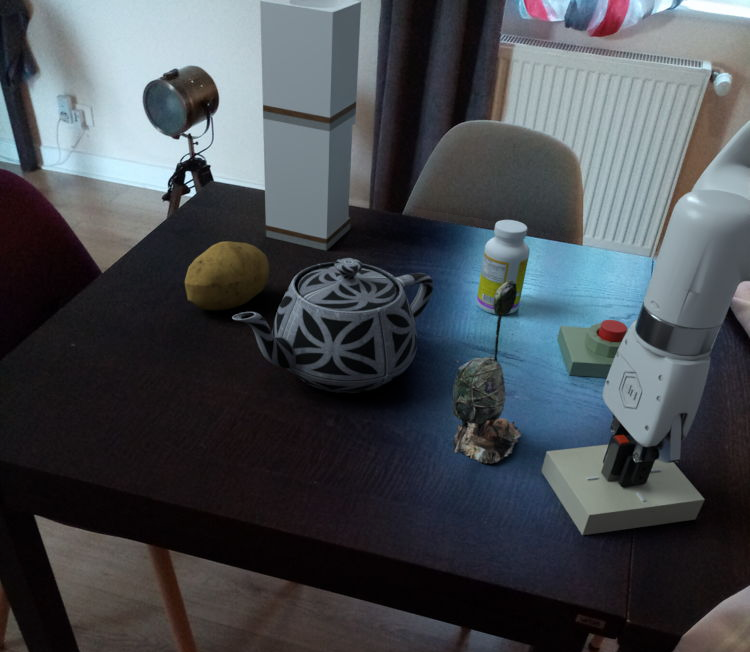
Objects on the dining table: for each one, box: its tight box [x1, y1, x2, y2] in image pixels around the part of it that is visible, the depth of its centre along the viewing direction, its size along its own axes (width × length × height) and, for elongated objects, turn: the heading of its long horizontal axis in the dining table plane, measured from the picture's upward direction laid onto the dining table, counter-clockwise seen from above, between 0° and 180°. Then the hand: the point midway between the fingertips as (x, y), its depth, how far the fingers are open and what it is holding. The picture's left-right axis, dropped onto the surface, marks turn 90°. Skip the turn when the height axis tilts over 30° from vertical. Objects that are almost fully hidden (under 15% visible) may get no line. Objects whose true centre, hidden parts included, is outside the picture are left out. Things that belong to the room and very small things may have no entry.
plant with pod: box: [451, 280, 522, 464], centre depth 88 cm, size 8×11×20 cm
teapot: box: [231, 257, 434, 394], centre depth 100 cm, size 19×31×15 cm, turn 127°
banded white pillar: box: [259, 0, 362, 252], centre depth 127 cm, size 11×11×35 cm
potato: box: [184, 240, 270, 312], centre depth 114 cm, size 10×13×9 cm
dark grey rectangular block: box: [601, 435, 653, 481], centre depth 86 cm, size 5×2×5 cm, turn 105°
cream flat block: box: [541, 443, 705, 536], centre depth 88 cm, size 14×11×3 cm
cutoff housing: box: [556, 322, 628, 379], centre depth 111 cm, size 12×10×4 cm
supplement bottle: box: [476, 219, 530, 315], centre depth 118 cm, size 7×7×13 cm
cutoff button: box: [598, 319, 628, 343], centre depth 109 cm, size 4×4×2 cm
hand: (623, 472), depth 87 cm, fingers open, 3 cm apart
